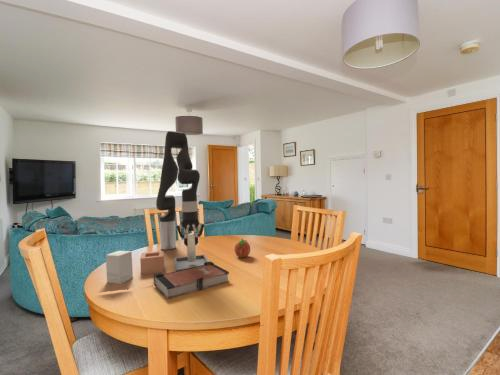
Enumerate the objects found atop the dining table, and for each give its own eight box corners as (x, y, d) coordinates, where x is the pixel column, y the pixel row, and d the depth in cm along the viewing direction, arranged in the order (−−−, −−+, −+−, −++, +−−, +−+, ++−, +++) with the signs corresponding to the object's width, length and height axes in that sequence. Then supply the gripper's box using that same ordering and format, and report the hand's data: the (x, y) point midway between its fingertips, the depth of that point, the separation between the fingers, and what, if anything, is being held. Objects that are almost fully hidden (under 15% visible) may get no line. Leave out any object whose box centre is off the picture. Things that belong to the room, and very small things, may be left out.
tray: (174, 262, 142) (173, 257, 142) (204, 259, 147) (204, 254, 147) (176, 275, 123) (175, 270, 123) (211, 270, 128) (211, 265, 128)
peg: (187, 259, 136) (186, 233, 135) (195, 258, 137) (194, 233, 137) (188, 262, 132) (187, 235, 132) (196, 261, 133) (195, 234, 133)
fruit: (231, 258, 146) (231, 240, 146) (239, 253, 155) (238, 236, 155) (246, 260, 143) (246, 241, 143) (253, 255, 152) (252, 237, 151)
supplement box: (133, 279, 119) (132, 251, 118) (120, 286, 112) (119, 255, 111) (120, 278, 121) (118, 250, 121) (106, 284, 114) (105, 254, 114)
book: (168, 301, 98) (167, 287, 98) (153, 286, 113) (153, 274, 112) (230, 283, 114) (229, 271, 113) (210, 271, 128) (210, 261, 128)
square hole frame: (142, 269, 132) (141, 253, 132) (164, 266, 135) (163, 250, 135) (141, 276, 123) (140, 258, 123) (164, 273, 126) (163, 256, 126)
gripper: (203, 208, 139) (204, 242, 140) (174, 210, 135) (175, 244, 136) (205, 210, 132) (206, 245, 133) (175, 212, 128) (176, 248, 129)
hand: (191, 244), depth 134 cm, fingers closed on peg, 4 cm apart
